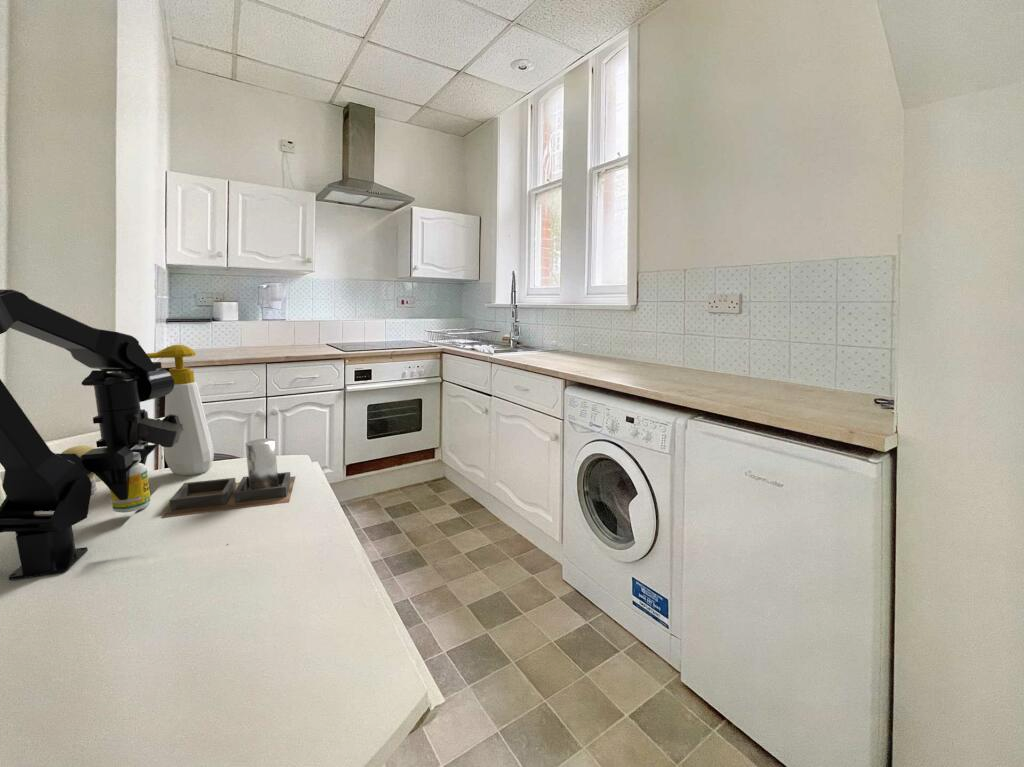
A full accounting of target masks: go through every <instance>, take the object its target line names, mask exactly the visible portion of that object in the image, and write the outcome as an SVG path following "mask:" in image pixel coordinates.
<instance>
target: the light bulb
mask: <svg viewBox="0 0 1024 767" xmlns="http://www.w3.org/2000/svg"><path fill="white" fill-rule="evenodd" d="M92 449H96V447H92V446H90V445H76V446H72V447H68V448H67V449H65V450H63V451H62V452H61V453H60V454H76V455H78V456H79V457H81V456H82V455H83V454H85V453H87V452H88V451H90V450H92ZM88 477H89V478H90V481H91V483H92V487H91V495H94V493H95V492H97V490H98V487H97V482H96V481H97V480H96V477H95V474H94V473H93V472H91V474H88Z"/></svg>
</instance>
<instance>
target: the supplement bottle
mask: <svg viewBox="0 0 1024 767" xmlns="http://www.w3.org/2000/svg"><path fill="white" fill-rule="evenodd" d="M134 460H139V461H138V462H137V463H136V464H135V465H134V466H133V467H132V468H131V469H130V475H129V494H128V499H126V500H119V499H118V498H117V497H116V495H115V494H114V493H113V492H112V491H111V490H110V489H109V492H110V499H111V506H112V510H113V511H114V512H116V513H131V512H135V511H139V510H143V509H144V508H147V507H148V506H150V504H151V501H152V500H151V492H150V485H149V484H150V483H149V477H148V476H149V475H148V467H147V466H146V464H145V465H144V464H142V463H139V462H140V461H141V456H140V453H138V452H133V461H134Z"/></svg>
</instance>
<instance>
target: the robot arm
mask: <svg viewBox="0 0 1024 767" xmlns="http://www.w3.org/2000/svg"><path fill="white" fill-rule="evenodd" d="M9 329H13V330H14V331H17V332H20V333H23V334H25V335H28V336H31V337H34V338H35V339H39V340H41V341H43V342H46V343H48V344H52V345H53V346H56V347H59V348H62V349H64V350H66V351H67V352H69V353H70V355H71V357H72V358H73V359H74V360H76V361H77V362H79V363H81V364H82V365H84V366H86V367H88V368H90V369H95V370H91V372H90V374H88V375H87V377H84V379H83V380H82V381H81V386H84V387H87V386H91V387H93V389H94V396H95V397H94V398H95V403H96V411H97V415H96V416H94V417H92V423H93V424H94V425H95V424H98V426H99V431H100V433H99V434H100V438H99V439H98V440H96V442H95V443H96V448H95V449H92V450H90V451H88V452H87V453H85V454H83V455H82V456H81V457H79V456H78V455H76V454H61V453H56V452H53V451H52V450H51V448H50V447H49V446H48V444H47V443H46V441H45V440H44V438H43V437H42V436H41V434H40V433H39V432H38V430H37V429H36V428H35V426H34V425H33V423H32V422H31V420H30V418H28V416H27V415H26V413H25V412H24V410H23V409H22V407H21V406H20V405H19V404H18V402H17V400H16V399H15V398H14V396H13V395H12V393H11V392H10V390H9V389H8V388H7V386H6V385H5V383H4V382H3V381H2V379H1V378H0V465H1V466H2V467H3V469H4V474H3V479H2V484H1V485H2V486H1V487H2V489H3V491H4V493H5V495H6V497H5V499H4V500H3V502H2V503H1V504H0V533H11V532H12V533H14V532H15V540H16V545H17V551H18V556H19V563H20V566H18V567H17V568H16V569H15V570H14V571H13V572H11V573H10V574H9V575H8V576H7V577H8V580H11V581H12V580H17V579H25V578H31V577H37V576H44V575H52V574H58V573H63V572H68V570H70V569H71V567H73V566H74V565H75V563H77V562H78V561H79V560H80V559H81V558H82V557H83V556H84V555H85V554H86V553H87V552H88V550H89V549H88V546H87V547H86V546H85V547H76V543H75V537H74V529H73V526H74V525H76V524H78V523H80V522H82V521H84V520H86V519H87V518H88V513H89V509H90V501H91V495H92V494H91V487H92V483H91V481H90V478H89V477H88V474H91V472H93V473H94V476H95V475H96V476H97V478H99V479H100V480H101V481H102V482H103V483H104V485H106V487H107V488H108V489H109V491H110V490H111V491H112V492H113V493H114V494H115V495H116V497H117V498H118V499H119V500H126V499H128V494H129V475H130V469H131V468H132V467H133V466H134V465H135V464H136V463H137V462H138V461H139V460H134V461H133V452H138V453H140V456H141V461H140V462H139V463H142V464H144V465H145V466H146V464H147V463H146V462H147V459H148V456H149V455H150V454H151V453H152V452H153V451H154V450H155V449H156V448H158V445H159V446H161V447H163V448H164V447H173V446H174V444H175V443H177V442H178V440H179V437H180V434H181V432H182V431H183V426H182V425H183V424H180V420H179V417H178V416H177V415H172V414H169V415H168V416H166V417H165V416H164V417H163V419H162V420H161V418H157V419H154V418H151V417H150V418H149V416H148V415H149V414H148V411H146V409H141V403H143V402H146V401H147V402H148V401H150V400H155V399H157V398H162V397H165V396H166V395H168V394H169V393H170V392H171V391H172V390H173V388H174V379H173V378H172V376H171V374H170V373H169V371H168V370H167V369H165V368H163V366H162V362H161V361H152V358H151V359H150V358H149V357H148V355H147V353H146V351H145V350H144V349H143V347H142V346H141V344H140V341H139V340H138V339H137V338H135V336H133V335H130V334H127V333H122V332H118V331H114V330H107V329H106V330H105V329H100V328H96V327H92V326H89V324H88V325H87V323H84V322H81V321H79V320H77V319H75V318H72V317H70V316H69V315H66V314H64V313H62V312H60V311H57V310H55V309H53V308H51V307H49V306H47V305H44V304H42V303H40V302H39V301H35V300H34V299H32V298H29V296H28V295H26V294H25V293H23V292H21V291H18V290H14V289H0V335H1V334H5V333H6V332H8V330H9ZM97 369H98V370H97ZM149 443H150V444H149ZM35 512H53V513H35Z"/></svg>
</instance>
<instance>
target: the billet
mask: <svg viewBox="0 0 1024 767" xmlns="http://www.w3.org/2000/svg"><path fill="white" fill-rule="evenodd" d="M276 449H277V448H276V441H275V439H274V438H258V439H253V440H250V441H248V442H246V443H245V452H246V462H247V473H248V476H249V487H250V490H251V489H260V488H269V487H278V486H279V485H278V473H279V472H278V463H277V461H278V460H277V450H276Z"/></svg>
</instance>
